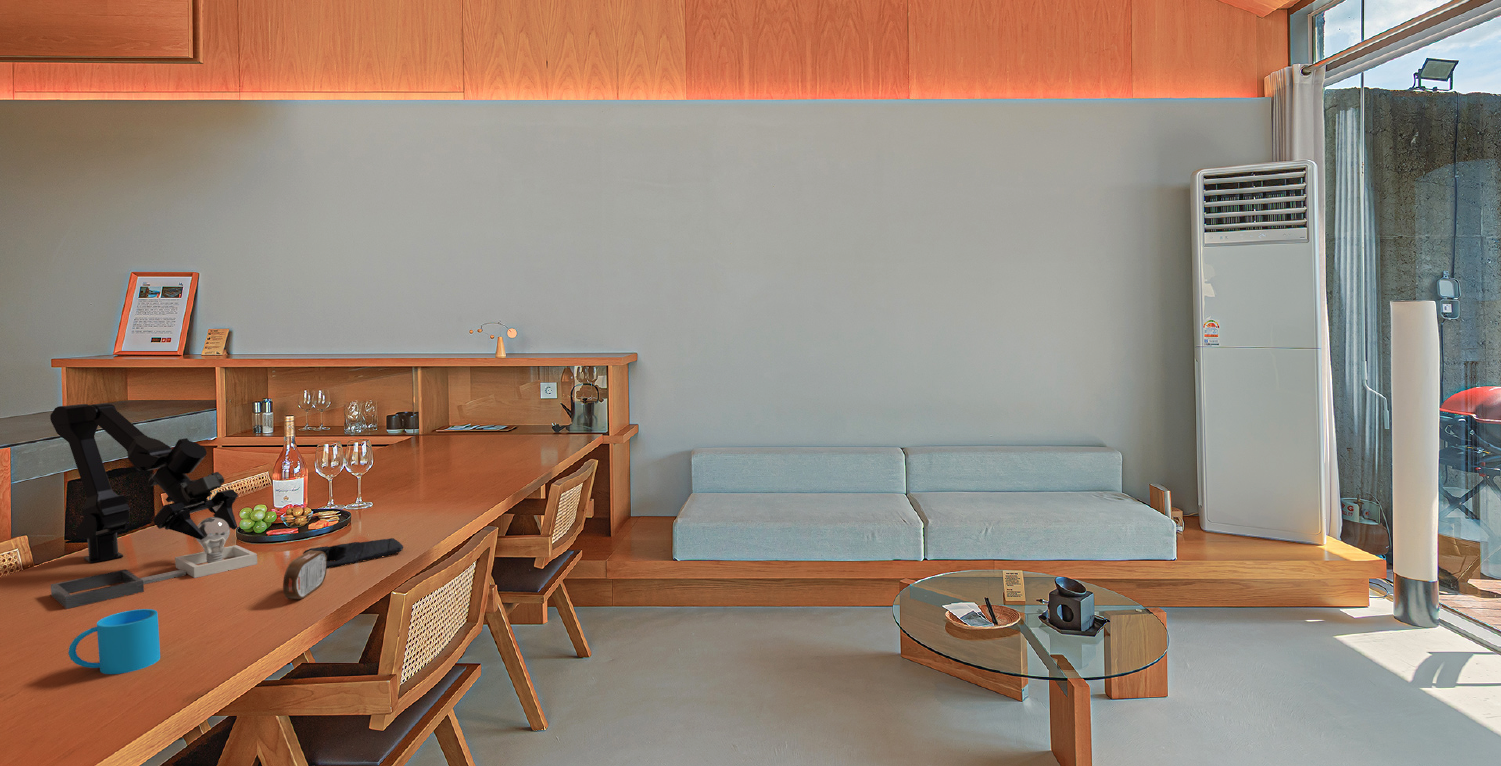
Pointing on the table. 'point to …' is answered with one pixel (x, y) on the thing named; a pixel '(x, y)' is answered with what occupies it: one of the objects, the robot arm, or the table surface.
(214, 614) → the table surface
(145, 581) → the rail strip
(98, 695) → the table surface
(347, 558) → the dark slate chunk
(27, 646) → the table surface
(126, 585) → the collar
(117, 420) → the robot arm
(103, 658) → the mug
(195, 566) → the collar
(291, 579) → the tin
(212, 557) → the light bulb
